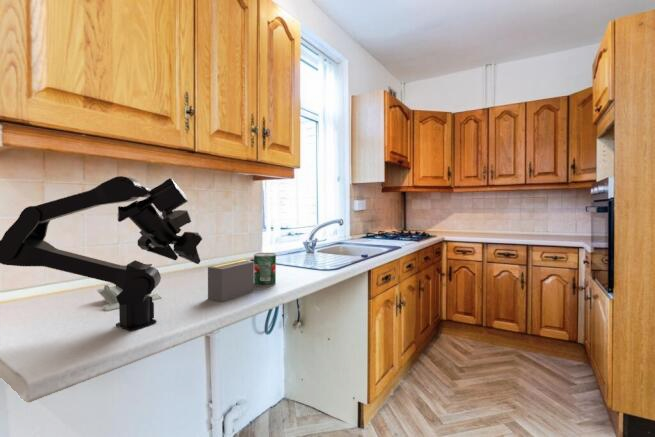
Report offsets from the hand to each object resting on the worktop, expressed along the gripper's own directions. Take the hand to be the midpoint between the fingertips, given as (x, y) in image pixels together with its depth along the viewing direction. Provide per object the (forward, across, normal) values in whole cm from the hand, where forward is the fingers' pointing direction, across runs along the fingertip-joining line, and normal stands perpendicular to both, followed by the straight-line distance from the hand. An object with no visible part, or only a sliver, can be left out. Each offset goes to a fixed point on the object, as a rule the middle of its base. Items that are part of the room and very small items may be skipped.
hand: (187, 260), depth 91 cm
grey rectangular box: (+21, -1, -2) cm, 21 cm away
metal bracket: (+8, +22, +13) cm, 27 cm away
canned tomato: (+33, -1, -14) cm, 36 cm away
